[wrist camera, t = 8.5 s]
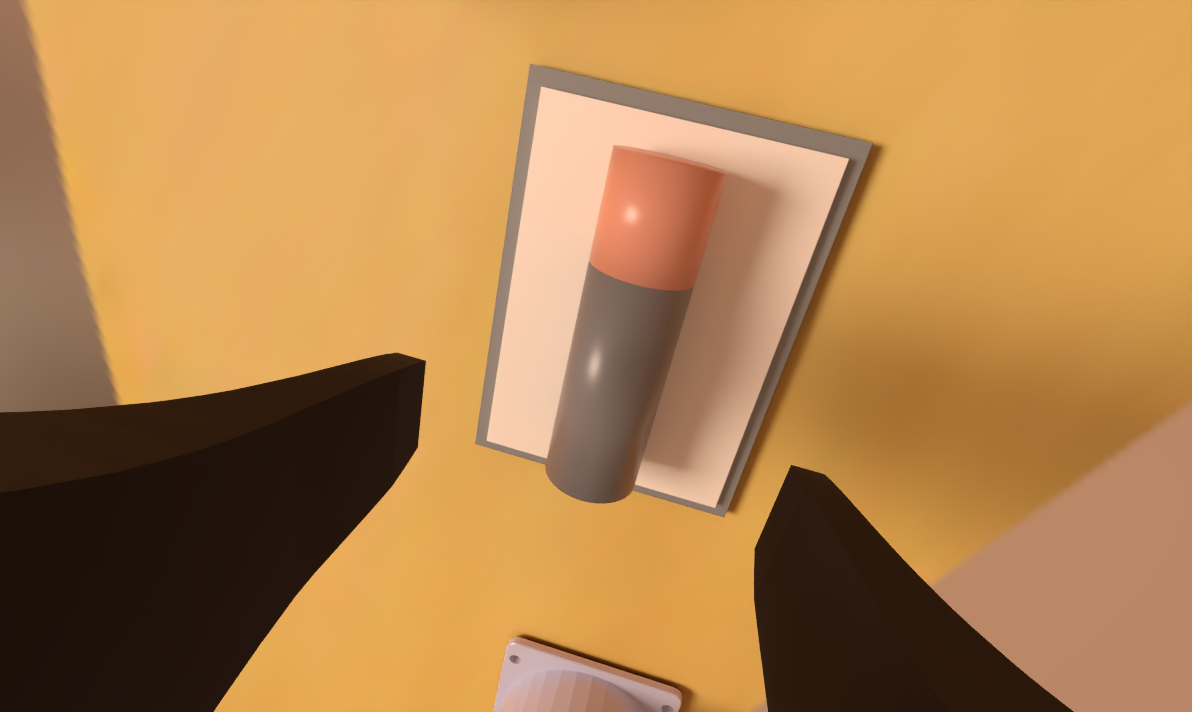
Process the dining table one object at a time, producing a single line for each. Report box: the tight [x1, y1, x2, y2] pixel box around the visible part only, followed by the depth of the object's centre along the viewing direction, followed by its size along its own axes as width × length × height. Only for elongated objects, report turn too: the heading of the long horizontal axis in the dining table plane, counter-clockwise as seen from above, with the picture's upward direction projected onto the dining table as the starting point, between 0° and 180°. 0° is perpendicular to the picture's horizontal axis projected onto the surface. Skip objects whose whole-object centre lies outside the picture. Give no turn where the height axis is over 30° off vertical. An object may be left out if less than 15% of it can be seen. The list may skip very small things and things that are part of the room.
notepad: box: [475, 64, 873, 517], centre depth 18 cm, size 13×10×1 cm
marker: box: [546, 145, 728, 503], centre depth 16 cm, size 10×3×3 cm, turn 168°
